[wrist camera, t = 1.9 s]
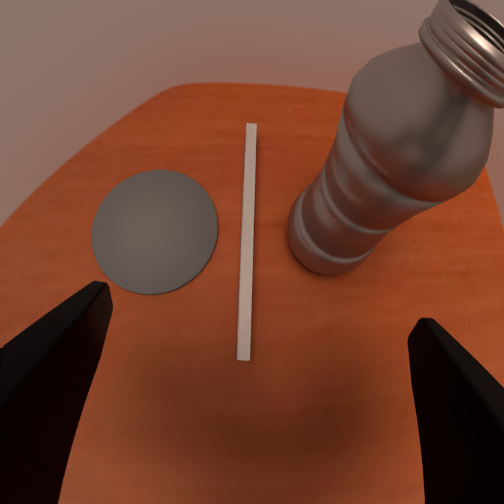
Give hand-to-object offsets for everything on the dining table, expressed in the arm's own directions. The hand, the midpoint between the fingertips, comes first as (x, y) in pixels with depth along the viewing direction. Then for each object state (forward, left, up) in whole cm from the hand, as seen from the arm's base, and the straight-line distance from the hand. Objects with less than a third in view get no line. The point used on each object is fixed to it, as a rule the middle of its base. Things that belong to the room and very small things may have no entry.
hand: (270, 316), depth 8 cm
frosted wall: (+4, -6, -14) cm, 16 cm away
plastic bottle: (-1, -9, -14) cm, 17 cm away
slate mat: (+10, -2, -14) cm, 18 cm away
